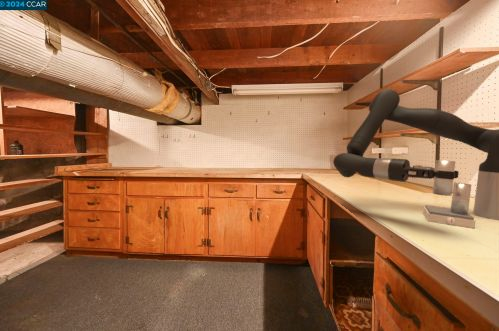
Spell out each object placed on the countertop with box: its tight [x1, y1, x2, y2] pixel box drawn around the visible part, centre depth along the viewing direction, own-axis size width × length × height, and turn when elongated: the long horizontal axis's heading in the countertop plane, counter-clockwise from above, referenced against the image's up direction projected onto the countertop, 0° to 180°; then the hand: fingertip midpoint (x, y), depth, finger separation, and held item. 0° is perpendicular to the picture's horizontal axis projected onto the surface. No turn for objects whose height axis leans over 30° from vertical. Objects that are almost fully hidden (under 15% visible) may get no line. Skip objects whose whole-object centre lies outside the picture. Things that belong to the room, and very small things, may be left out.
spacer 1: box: [432, 159, 456, 197], centre depth 70 cm, size 4×4×10 cm
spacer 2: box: [450, 182, 472, 215], centre depth 80 cm, size 4×4×10 cm
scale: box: [422, 204, 477, 229], centre depth 83 cm, size 12×12×3 cm
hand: (455, 175), depth 68 cm, fingers closed on spacer 1, 4 cm apart
